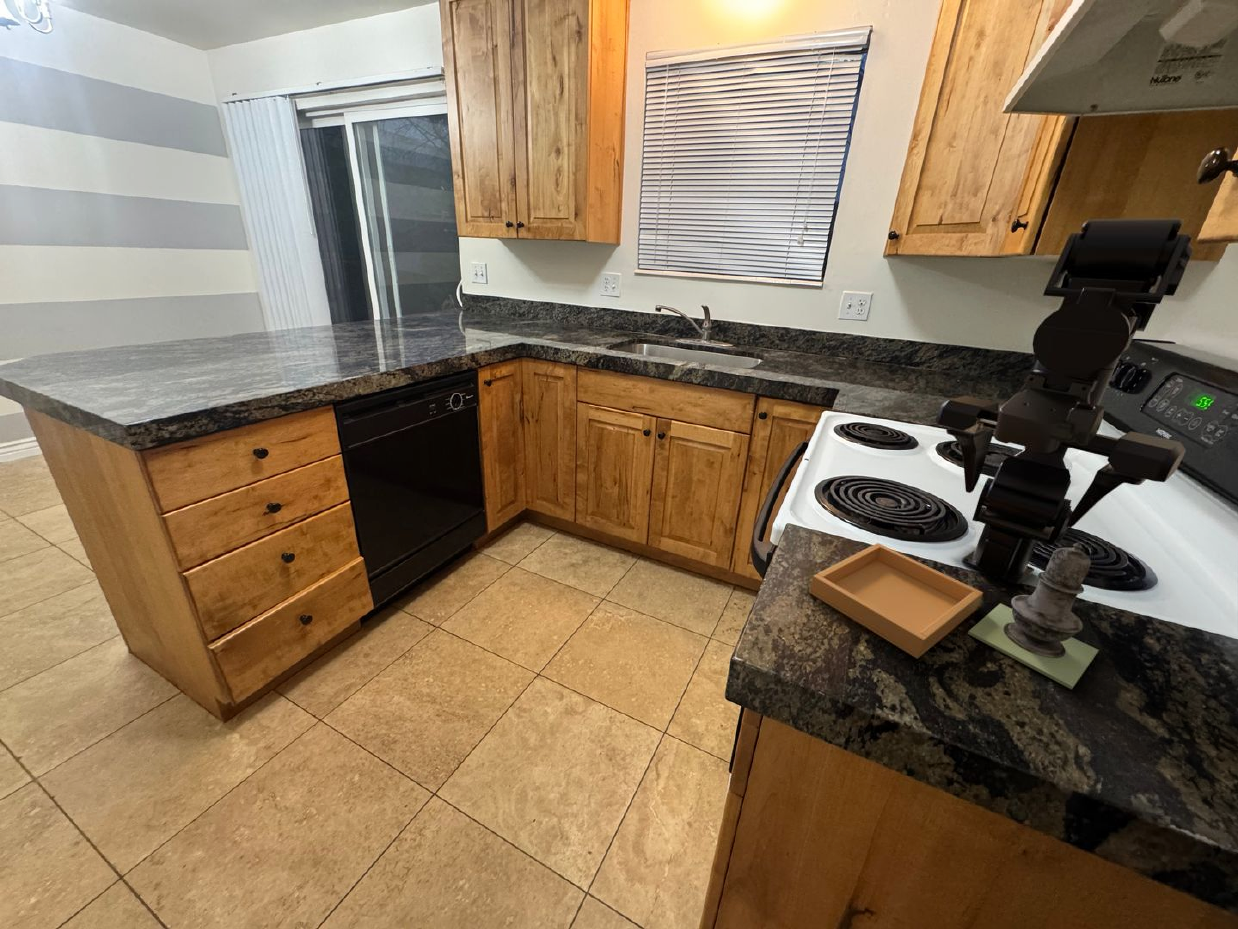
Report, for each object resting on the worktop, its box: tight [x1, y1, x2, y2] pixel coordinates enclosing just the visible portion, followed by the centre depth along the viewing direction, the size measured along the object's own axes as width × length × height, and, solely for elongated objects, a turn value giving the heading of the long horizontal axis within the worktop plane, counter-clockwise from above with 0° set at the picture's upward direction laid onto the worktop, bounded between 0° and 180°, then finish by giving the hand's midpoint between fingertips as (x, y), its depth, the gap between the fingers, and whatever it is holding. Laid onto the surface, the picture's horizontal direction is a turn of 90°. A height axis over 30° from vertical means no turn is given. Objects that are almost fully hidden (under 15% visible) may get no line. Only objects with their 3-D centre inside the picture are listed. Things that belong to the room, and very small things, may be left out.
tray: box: [808, 542, 984, 659], centre depth 58 cm, size 15×13×2 cm
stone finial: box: [1003, 541, 1092, 658], centre depth 51 cm, size 6×6×12 cm
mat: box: [967, 603, 1099, 690], centre depth 53 cm, size 9×9×1 cm
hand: (1016, 508), depth 54 cm, fingers open, 9 cm apart
